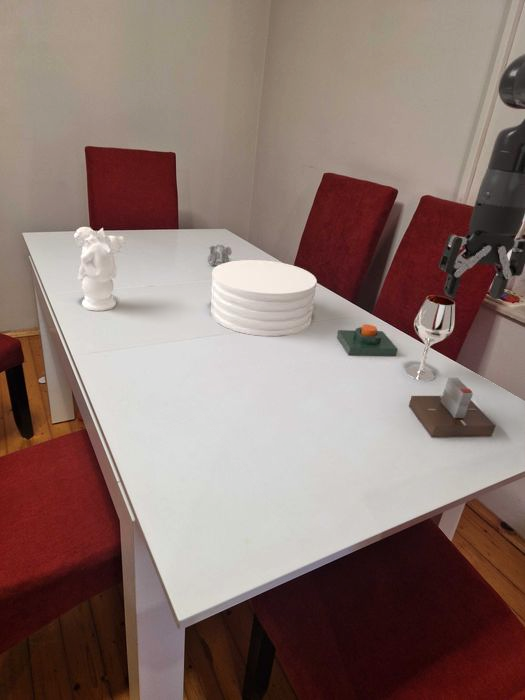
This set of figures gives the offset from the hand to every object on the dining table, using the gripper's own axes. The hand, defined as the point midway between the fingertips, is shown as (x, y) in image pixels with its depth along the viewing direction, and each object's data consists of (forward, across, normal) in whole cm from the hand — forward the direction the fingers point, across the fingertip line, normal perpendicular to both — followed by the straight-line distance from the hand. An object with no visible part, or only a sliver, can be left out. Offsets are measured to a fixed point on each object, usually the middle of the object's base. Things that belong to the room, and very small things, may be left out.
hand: (471, 297), depth 79 cm
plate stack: (+24, +28, -47) cm, 60 cm away
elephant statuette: (+24, +36, -91) cm, 101 cm away
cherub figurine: (+24, +70, -52) cm, 91 cm away
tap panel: (+24, -1, +4) cm, 24 cm away
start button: (+20, +5, -28) cm, 35 cm away
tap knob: (+22, -1, +3) cm, 22 cm away
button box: (+24, +5, -28) cm, 37 cm away
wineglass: (+24, -3, -14) cm, 28 cm away
